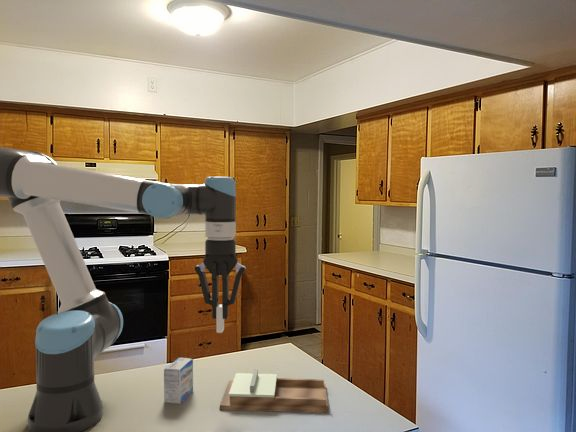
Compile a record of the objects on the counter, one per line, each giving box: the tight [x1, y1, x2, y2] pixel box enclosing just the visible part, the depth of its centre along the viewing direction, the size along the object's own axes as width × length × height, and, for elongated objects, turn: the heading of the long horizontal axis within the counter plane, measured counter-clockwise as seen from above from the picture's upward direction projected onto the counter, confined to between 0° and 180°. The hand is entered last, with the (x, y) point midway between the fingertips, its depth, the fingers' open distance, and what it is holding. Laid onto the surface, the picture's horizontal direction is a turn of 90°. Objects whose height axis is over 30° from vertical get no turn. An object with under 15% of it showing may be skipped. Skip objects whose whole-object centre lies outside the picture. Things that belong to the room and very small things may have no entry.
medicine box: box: [163, 357, 194, 405], centre depth 112 cm, size 8×4×9 cm, turn 168°
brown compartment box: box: [219, 377, 329, 414], centre depth 113 cm, size 26×14×3 cm, turn 88°
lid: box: [229, 369, 278, 398], centre depth 113 cm, size 11×12×2 cm
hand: (220, 331), depth 112 cm, fingers closed
